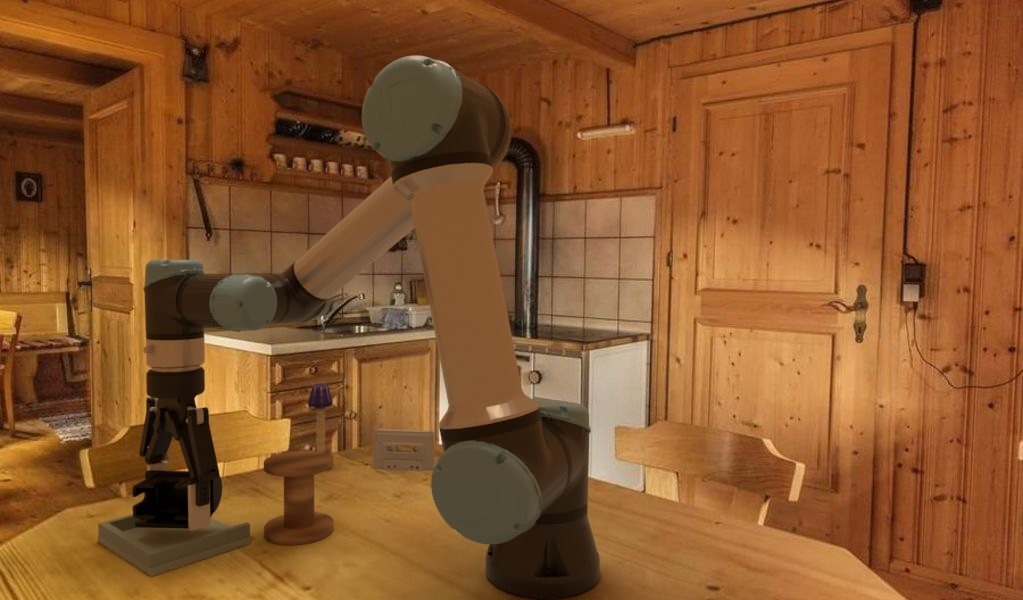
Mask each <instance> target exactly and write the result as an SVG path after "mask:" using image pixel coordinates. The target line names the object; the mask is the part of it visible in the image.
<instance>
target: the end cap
mask: <svg viewBox="0 0 1023 600" xmlns="http://www.w3.org/2000/svg"><path fill="white" fill-rule="evenodd" d="M144 473H145V474H144V475H145V476H144V479H143V480H142V481H139V482H137V483H136V484H133V486H132V490H131V491H132V492H131V494H132V498H136V497H139V496H140V495H141V494H144V496H143V498H142V500H140V501H139V502H137V503H135V504H134V505H133V506H132V508H131V510H132V514H133V516H134V517H135V518H136V519H139V520H137V521H136V522H135V527H144V528H182V529H189V522H188V485H187V482H188V481H189V480H190V479H191V477H190V474H189V471H188V470H168V471H162V470H149V471H145V472H144ZM220 475H221V474H220ZM220 475H219V478H216V479H212V480H210V518H211V517H213V514H214V513H215V512H216V511H217V509H218V508H219V505H220V503H221V500H222V495H223V480H222V477H221V476H220Z"/></svg>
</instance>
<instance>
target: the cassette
mask: <svg viewBox="0 0 1023 600" xmlns="http://www.w3.org/2000/svg"><path fill="white" fill-rule="evenodd" d="M390 446H391V447H392V448H393V449H392V448H390ZM398 446H410V450H407V449H401V450H400V449H398ZM415 447H417V448H418V449H416V448H415ZM434 467H435V432H434V430H419V429H418V430H417V429H416V430H415V429H382V428H376V429H375V430H373V469H383V470H401V471H402V470H405V471H406V470H409V471H426V470H427V471H433V469H434Z"/></svg>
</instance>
